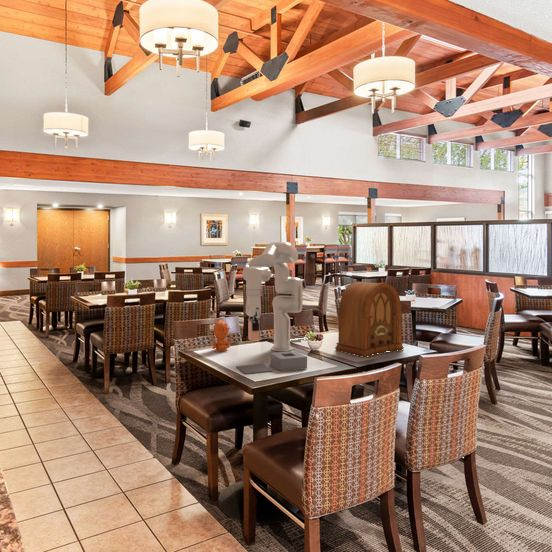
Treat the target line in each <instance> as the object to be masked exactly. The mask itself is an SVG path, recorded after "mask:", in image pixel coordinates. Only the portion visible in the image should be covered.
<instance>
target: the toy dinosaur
mask: <svg viewBox="0 0 552 552" xmlns="http://www.w3.org/2000/svg"><path fill="white" fill-rule="evenodd" d="M218 320H219V321H215V322H214V325H213V335H212V337H211V338H212V339H211V342H212V350H214V351H216V350H217V351H216V352H218V351H224V352H227V350H228V349H230V347H231V344H230V342H231V339H232V334H229V332H230V329H231V328H230V325H228V322H227V321H223V320H222V319H218ZM228 336H229V337H228ZM215 337H216V338H217V340H215ZM227 337H228V338H227ZM226 338H227V340H226Z"/></svg>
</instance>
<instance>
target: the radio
mask: <svg viewBox="0 0 552 552" xmlns="http://www.w3.org/2000/svg"><path fill="white" fill-rule="evenodd" d="M402 315H403V312H402V303H401V298H400V295H399V292H398V290H397V289H396V288H395V287H394V286H393V285H391V284H390V283H387V282H367V281H366V282H365V281H355V282H351V284H349V285H348V286H347V287H346V288H345V290H344V291H343V292H342V295H341V297H340V302H339V305H338V337H337V338H338V342H336V343H335V344H336V346H335V347H334V349H335V351H336V350H339V351H338V352H340V351H343V352H342V353H344V352H347V353H346V354H348V353H350V354H349V355H352V354H355V355H354V356H356V355H358V356H357V357H360V356H363V357H362V358H364V357H366V358H368V357H367V356H371V355H372V354H376V355H378V354H377V353H384V352H386V351H397V350H402V349H403V350H404V348H405V347H404V346H403V344H404V343H403V342H402V325H403V324H402V323H403V321H402V320H403V319H402V318H403V317H402ZM403 350H402V351H403ZM397 352H398V351H397ZM386 353H387V352H386ZM384 354H385V353H384ZM372 356H373V355H372ZM372 356H371V357H372Z"/></svg>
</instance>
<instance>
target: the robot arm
mask: <svg viewBox="0 0 552 552" xmlns="http://www.w3.org/2000/svg"><path fill="white" fill-rule="evenodd" d="M298 259H299V253H298V249H297V248H296V247H294V246H293V244H291V242H287V241H283V242H280V241H278V242H277V241H276V242H275V241H274V242H272V241H271V242H270V243H268V244H267V245H266V246H265V249H264V250H263V251H262V253H261V254H260V255H258V256H256V257H253V258H251V259H250V260H248V261H247V262H246V264H245V265H244V267H243V269H242V273H241V275H242V278H243V280H245V281H246V282H245V283H246V284H245V285H246V288H245V289H246V290H245V291H246V293H245V294H246V295H245V296H246V301H245V305H246V306H245V314H246V315H247V316H248V319H253V323H252V331H259V319H260V320H261V316H262V302H261V301H262V300H261V299H262V298H261V297H262V295H263V293H262V292H263V290H262V289H263V286H262V285H263V284H262V283H263V282H268V281H269V280H270V279H271V277H272V271H271V269H270V268H271V267H273V269H274V287H275V288H274V289H275V290H274V291H275V292H276V293H278V294H289V295H277V296H275V297H273V299H272V301H271V302H272V309H273V333H274V340H273V346H271V347H270V348H271V350H272V351H275V352H289V351H294V347H293V346H291V343H290V334H291V318H290V316H289V315H288V313H294V314H296V313H297V314H298V313H300V312H301V311H302V310H303V301H304V300H303V281H302V279H301V278H299V277H291V276H290V267H289V266H288V264H295V263H297V261H298Z"/></svg>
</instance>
